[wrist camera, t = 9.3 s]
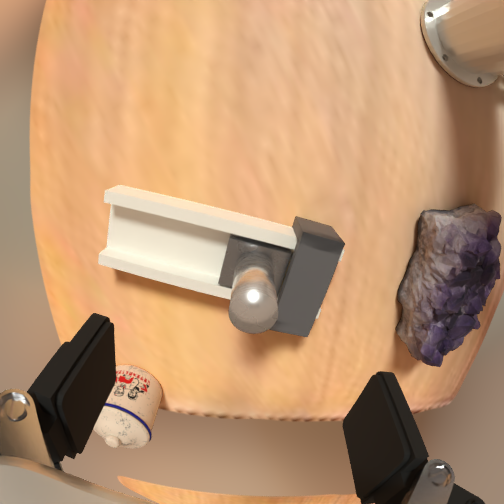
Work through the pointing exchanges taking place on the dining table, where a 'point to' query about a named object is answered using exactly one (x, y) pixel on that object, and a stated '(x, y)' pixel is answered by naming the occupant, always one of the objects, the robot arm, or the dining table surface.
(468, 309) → the geode
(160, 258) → the track
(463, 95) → the dining table surface
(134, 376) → the teacup with lid
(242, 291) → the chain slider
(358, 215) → the dining table surface
